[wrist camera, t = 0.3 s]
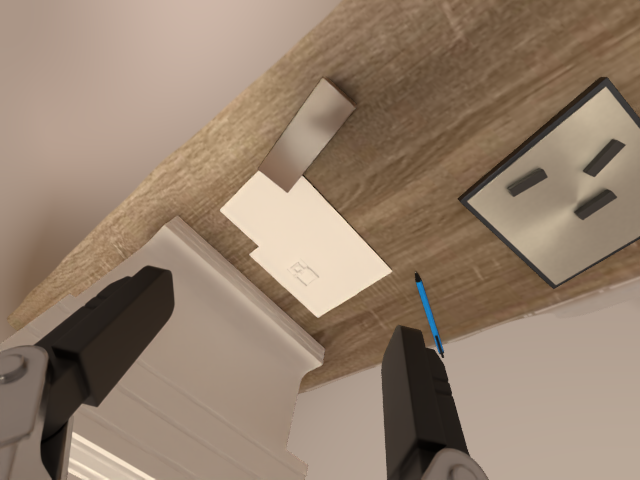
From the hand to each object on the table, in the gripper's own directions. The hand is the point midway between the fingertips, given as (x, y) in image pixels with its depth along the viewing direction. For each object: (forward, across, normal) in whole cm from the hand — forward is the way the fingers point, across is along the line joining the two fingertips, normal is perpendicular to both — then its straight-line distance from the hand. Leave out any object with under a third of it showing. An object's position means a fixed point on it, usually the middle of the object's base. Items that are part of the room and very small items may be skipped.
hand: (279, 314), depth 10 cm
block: (+31, +11, +30) cm, 45 cm away
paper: (+31, +3, +16) cm, 35 cm away
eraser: (+31, +4, -1) cm, 31 cm away
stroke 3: (+30, -31, 0) cm, 43 cm away
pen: (+32, -20, +24) cm, 45 cm away
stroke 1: (+30, -23, 0) cm, 38 cm away
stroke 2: (+30, -29, -5) cm, 42 cm away
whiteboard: (+31, -30, 0) cm, 43 cm away
